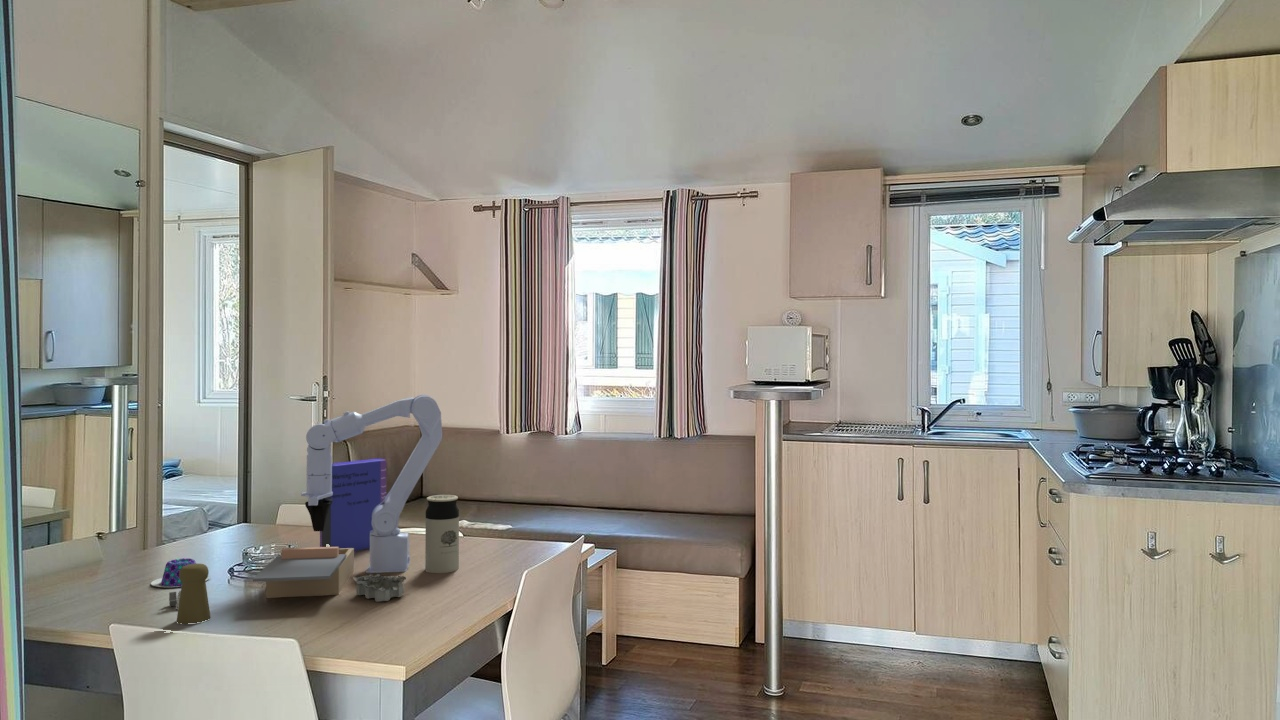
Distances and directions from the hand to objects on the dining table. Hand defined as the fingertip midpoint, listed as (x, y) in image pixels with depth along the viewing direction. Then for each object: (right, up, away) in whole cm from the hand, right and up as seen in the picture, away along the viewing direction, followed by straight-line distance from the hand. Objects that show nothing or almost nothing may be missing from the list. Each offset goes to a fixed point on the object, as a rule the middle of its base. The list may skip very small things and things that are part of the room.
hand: (318, 530), depth 205 cm
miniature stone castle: (-21, -11, -26) cm, 35 cm away
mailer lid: (+4, -4, -20) cm, 21 cm away
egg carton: (+21, -11, -17) cm, 30 cm away
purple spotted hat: (-29, -11, -8) cm, 32 cm away
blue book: (0, -11, +25) cm, 27 cm away
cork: (-11, -11, -36) cm, 39 cm away
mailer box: (+2, -10, -10) cm, 14 cm away
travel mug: (+29, -11, +4) cm, 31 cm away
